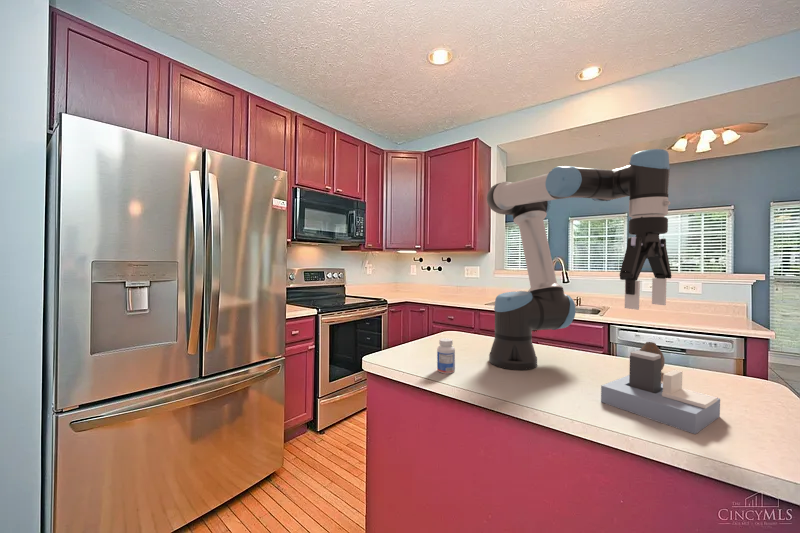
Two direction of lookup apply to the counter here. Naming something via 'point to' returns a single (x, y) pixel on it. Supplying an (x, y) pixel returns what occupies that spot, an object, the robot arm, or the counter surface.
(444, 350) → the pill bottle
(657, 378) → the plug
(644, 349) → the vase
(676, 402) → the socket board
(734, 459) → the counter surface
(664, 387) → the shutter
